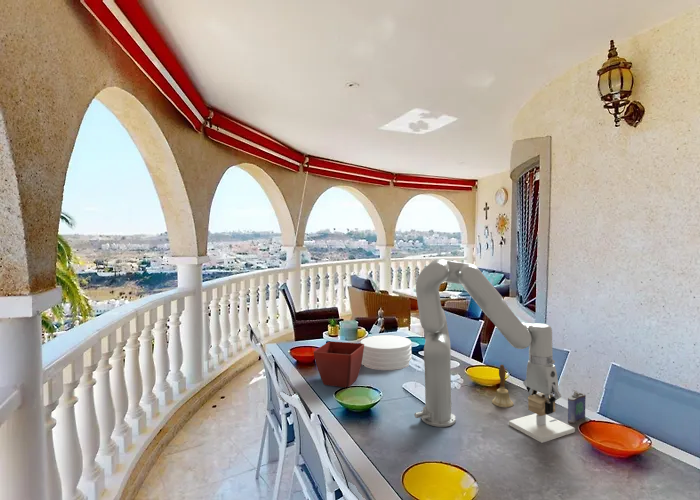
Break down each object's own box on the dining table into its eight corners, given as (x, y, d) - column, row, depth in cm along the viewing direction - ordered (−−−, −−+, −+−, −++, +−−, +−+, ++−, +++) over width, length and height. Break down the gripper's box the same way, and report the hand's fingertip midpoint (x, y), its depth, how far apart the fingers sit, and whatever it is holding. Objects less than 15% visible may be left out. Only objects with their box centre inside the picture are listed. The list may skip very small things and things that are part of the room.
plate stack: (378, 351, 239) (377, 333, 239) (420, 359, 223) (420, 339, 222) (350, 364, 216) (350, 343, 216) (395, 374, 200) (395, 351, 200)
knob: (541, 415, 136) (540, 399, 136) (528, 409, 141) (528, 394, 141) (555, 411, 139) (555, 395, 139) (542, 405, 144) (542, 390, 144)
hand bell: (515, 408, 157) (515, 368, 157) (493, 406, 159) (493, 367, 158) (511, 399, 166) (511, 361, 165) (490, 398, 167) (490, 361, 167)
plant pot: (313, 386, 185) (312, 351, 185) (330, 373, 203) (329, 340, 202) (351, 391, 178) (350, 354, 177) (365, 377, 196) (365, 343, 195)
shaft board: (541, 442, 131) (541, 428, 131) (509, 424, 144) (508, 411, 144) (574, 432, 137) (574, 417, 137) (540, 415, 150) (540, 402, 150)
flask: (573, 424, 143) (572, 395, 143) (565, 421, 146) (564, 392, 145) (587, 418, 148) (587, 389, 147) (579, 415, 150) (579, 387, 150)
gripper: (570, 364, 133) (571, 417, 134) (528, 351, 149) (529, 399, 150) (554, 368, 130) (555, 422, 131) (513, 354, 146) (514, 403, 147)
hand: (541, 409), depth 140 cm, fingers closed on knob, 5 cm apart
